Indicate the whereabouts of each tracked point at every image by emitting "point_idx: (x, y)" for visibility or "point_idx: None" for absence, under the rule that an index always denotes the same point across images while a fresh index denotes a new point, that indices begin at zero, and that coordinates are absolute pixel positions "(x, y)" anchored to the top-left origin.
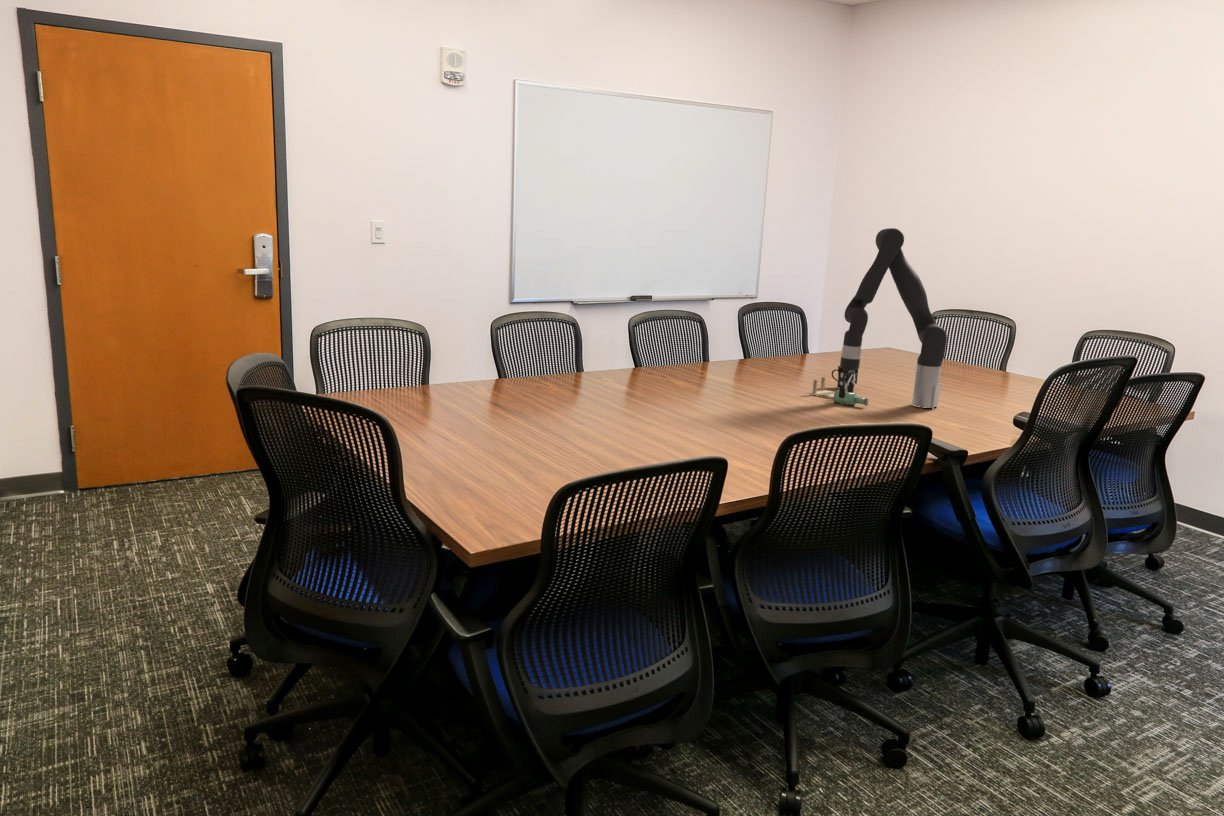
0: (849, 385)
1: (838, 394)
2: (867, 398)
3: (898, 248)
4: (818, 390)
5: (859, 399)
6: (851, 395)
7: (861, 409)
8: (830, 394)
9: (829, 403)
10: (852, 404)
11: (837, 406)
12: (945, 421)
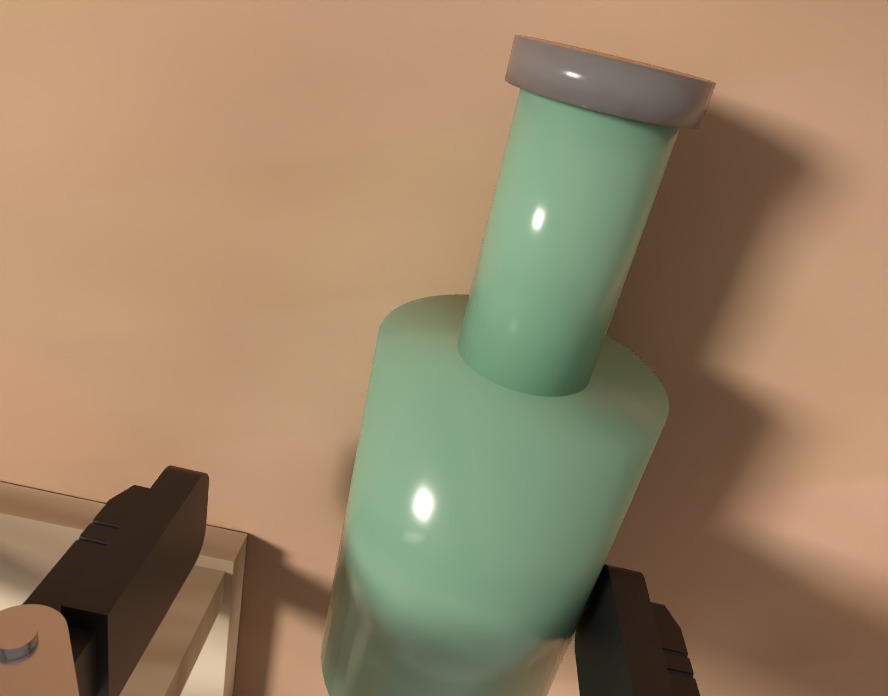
0: (93, 692)
1: (549, 681)
2: (636, 65)
3: None
4: None
5: (624, 271)
6: (622, 490)
7: (781, 127)
8: None
9: None
10: (621, 346)
11: (715, 524)
12: None
